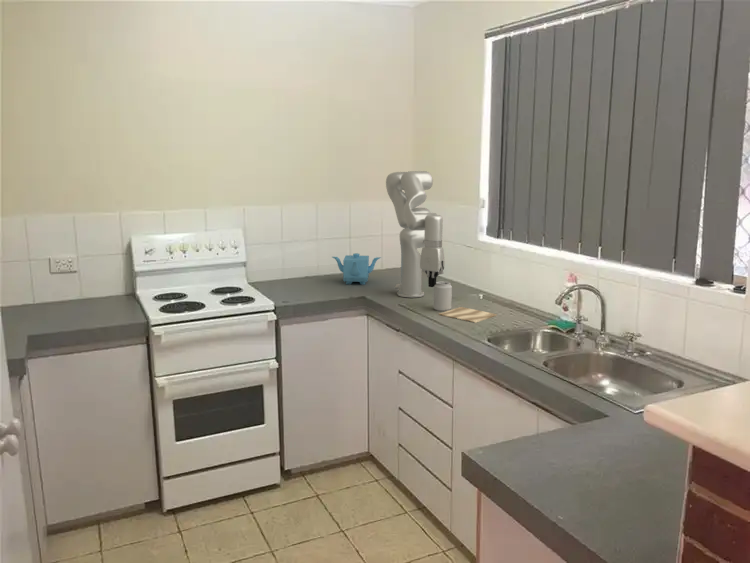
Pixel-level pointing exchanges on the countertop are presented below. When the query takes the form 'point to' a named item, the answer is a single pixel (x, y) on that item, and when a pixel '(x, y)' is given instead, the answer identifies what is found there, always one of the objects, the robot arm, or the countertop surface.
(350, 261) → the teakettle
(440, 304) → the can
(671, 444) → the countertop surface
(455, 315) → the mat
